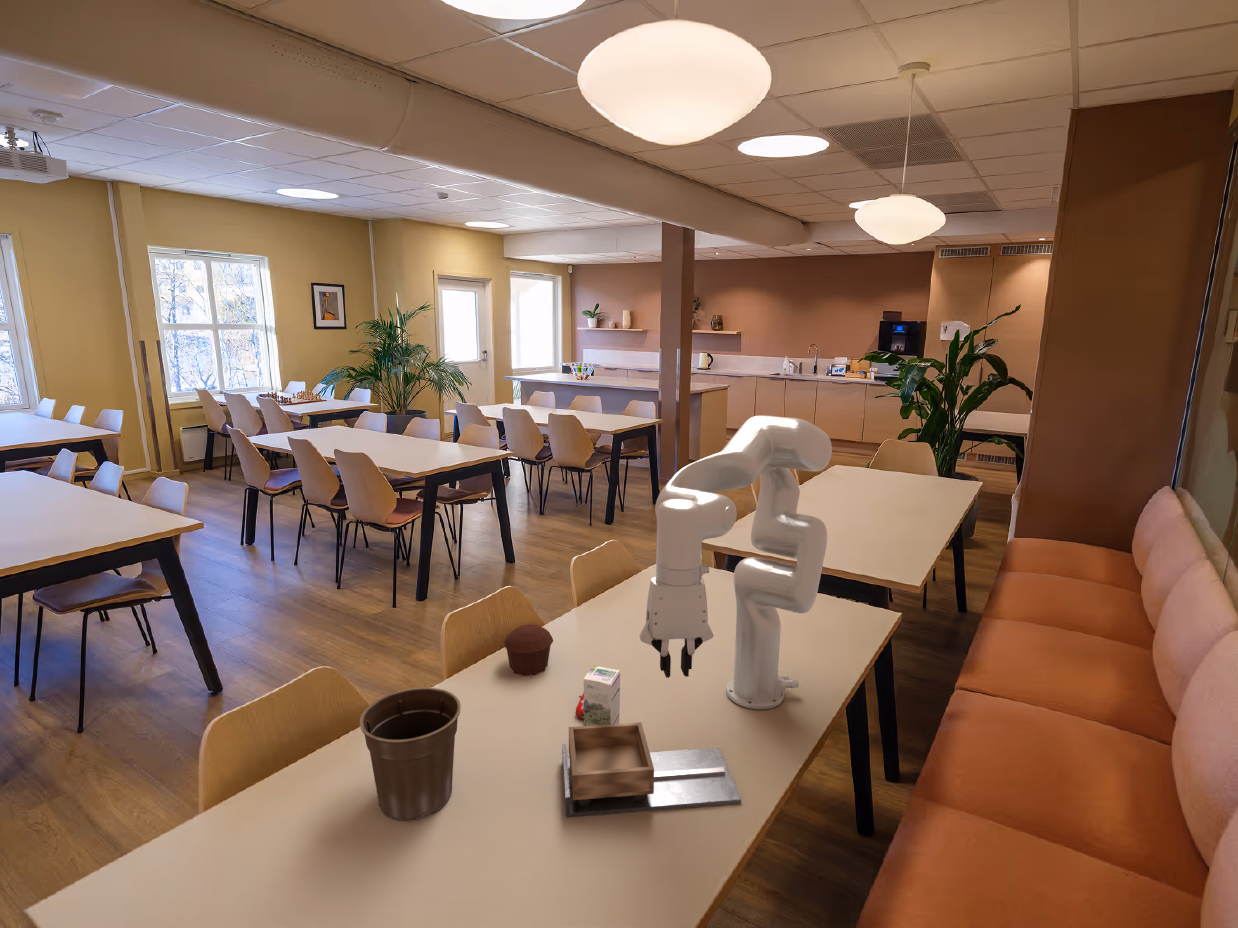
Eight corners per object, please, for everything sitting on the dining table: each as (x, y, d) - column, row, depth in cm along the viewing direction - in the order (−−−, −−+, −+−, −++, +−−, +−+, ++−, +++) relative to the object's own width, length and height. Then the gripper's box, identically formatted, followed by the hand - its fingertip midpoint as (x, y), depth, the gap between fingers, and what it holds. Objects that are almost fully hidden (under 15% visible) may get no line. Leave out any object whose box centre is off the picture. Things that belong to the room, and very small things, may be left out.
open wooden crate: (640, 753, 124) (641, 722, 123) (653, 804, 111) (654, 769, 110) (568, 758, 122) (568, 726, 121) (572, 810, 109) (572, 775, 108)
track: (718, 751, 127) (719, 733, 126) (741, 803, 113) (742, 783, 112) (562, 762, 123) (562, 743, 122) (565, 817, 109) (565, 797, 108)
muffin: (513, 683, 150) (511, 642, 148) (498, 662, 160) (497, 623, 158) (561, 671, 156) (560, 632, 154) (543, 651, 165) (543, 614, 163)
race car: (597, 725, 135) (597, 708, 134) (572, 722, 136) (572, 704, 135) (613, 691, 148) (613, 675, 147) (589, 688, 149) (589, 672, 148)
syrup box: (620, 735, 131) (621, 668, 128) (610, 752, 126) (610, 683, 123) (593, 729, 133) (593, 663, 130) (582, 746, 128) (582, 677, 125)
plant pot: (387, 764, 122) (382, 684, 119) (474, 766, 121) (471, 687, 118) (349, 829, 106) (342, 739, 103) (449, 832, 106) (444, 742, 102)
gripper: (719, 563, 115) (715, 660, 119) (627, 566, 113) (626, 665, 117) (731, 579, 108) (726, 681, 111) (634, 583, 106) (632, 687, 109)
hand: (675, 672), depth 114 cm, fingers open, 2 cm apart
